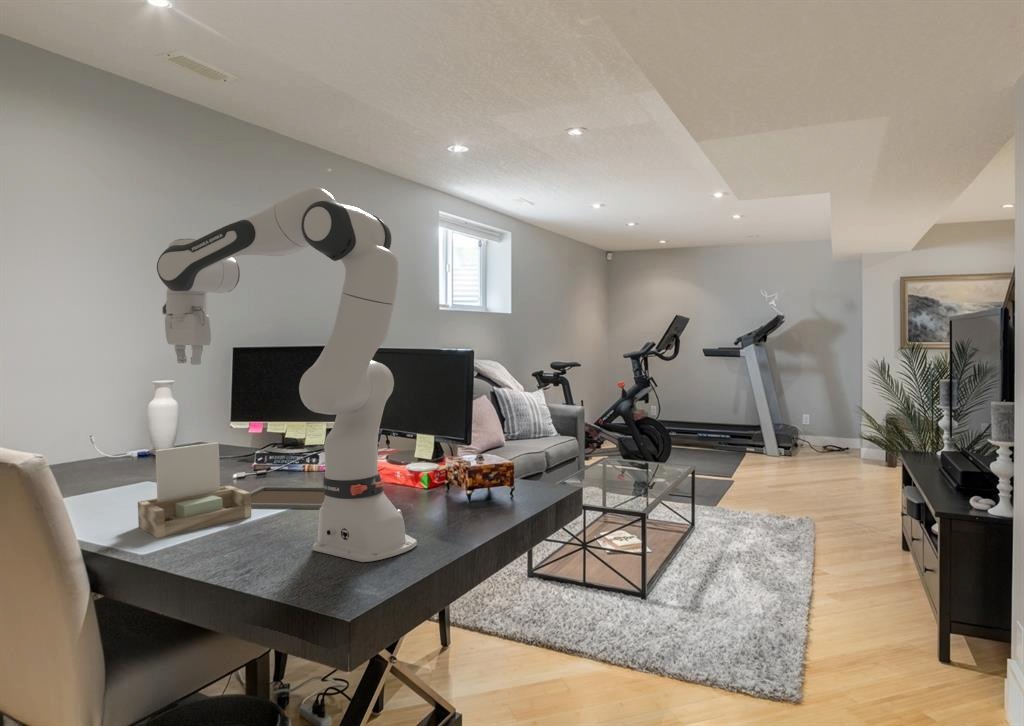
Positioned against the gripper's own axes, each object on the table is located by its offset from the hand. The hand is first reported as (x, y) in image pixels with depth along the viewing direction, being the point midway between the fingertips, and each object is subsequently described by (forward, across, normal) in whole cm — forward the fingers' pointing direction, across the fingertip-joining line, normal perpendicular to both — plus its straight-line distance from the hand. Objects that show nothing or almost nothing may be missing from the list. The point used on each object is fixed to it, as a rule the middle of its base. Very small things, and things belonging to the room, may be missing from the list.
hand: (188, 363), depth 150 cm
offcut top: (+36, -6, 0) cm, 36 cm away
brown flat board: (+39, 0, -24) cm, 46 cm away
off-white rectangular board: (+38, 0, 0) cm, 38 cm away
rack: (+38, -4, 0) cm, 38 cm away
